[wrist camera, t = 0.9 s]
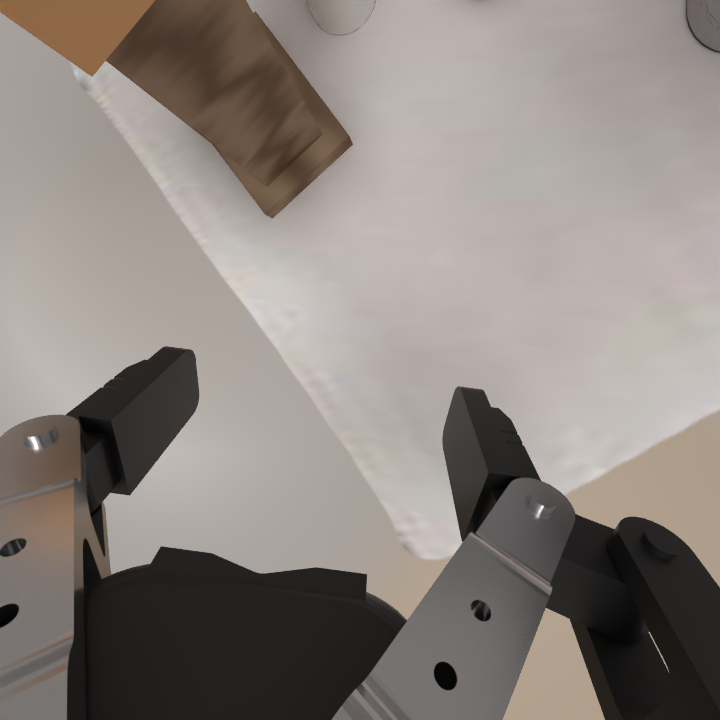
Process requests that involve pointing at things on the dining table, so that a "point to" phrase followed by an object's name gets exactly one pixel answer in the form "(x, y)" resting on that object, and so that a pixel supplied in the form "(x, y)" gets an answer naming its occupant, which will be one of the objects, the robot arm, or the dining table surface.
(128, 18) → the orange bar
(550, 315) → the dining table surface
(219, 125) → the walnut stand
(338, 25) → the cylindrical container
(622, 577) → the robot arm
